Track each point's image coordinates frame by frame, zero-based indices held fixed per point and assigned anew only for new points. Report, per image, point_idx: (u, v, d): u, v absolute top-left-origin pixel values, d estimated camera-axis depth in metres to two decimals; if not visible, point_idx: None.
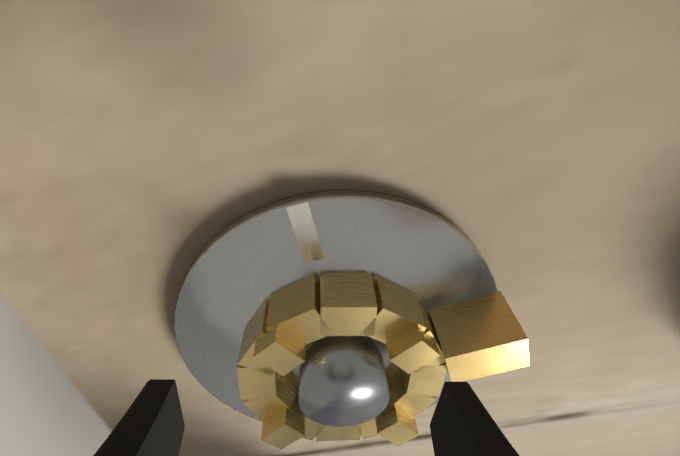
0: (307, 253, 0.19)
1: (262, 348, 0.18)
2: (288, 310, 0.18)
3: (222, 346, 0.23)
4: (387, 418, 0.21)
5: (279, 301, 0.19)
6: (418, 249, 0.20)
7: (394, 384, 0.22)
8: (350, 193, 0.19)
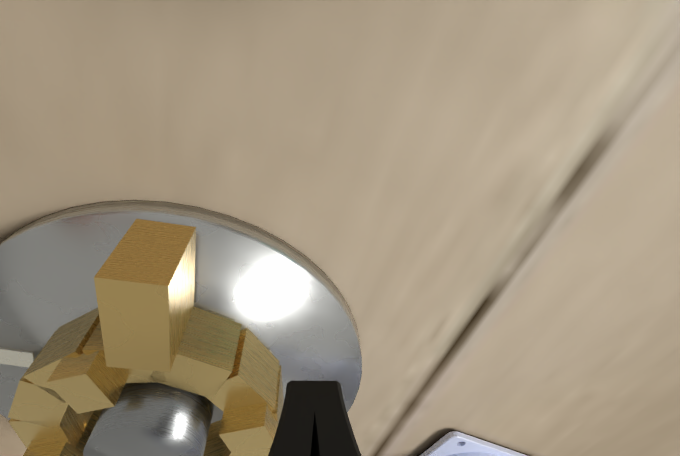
0: (24, 361, 0.18)
1: None
2: None
3: None
4: None
5: None
6: (42, 276, 0.16)
7: None
8: None
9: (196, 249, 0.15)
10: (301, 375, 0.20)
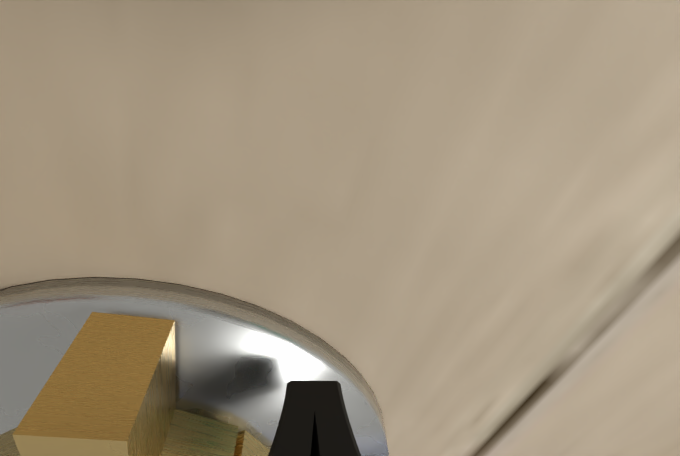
0: None
1: None
2: None
3: None
4: None
5: None
6: None
7: None
8: None
9: (177, 341, 0.11)
10: None
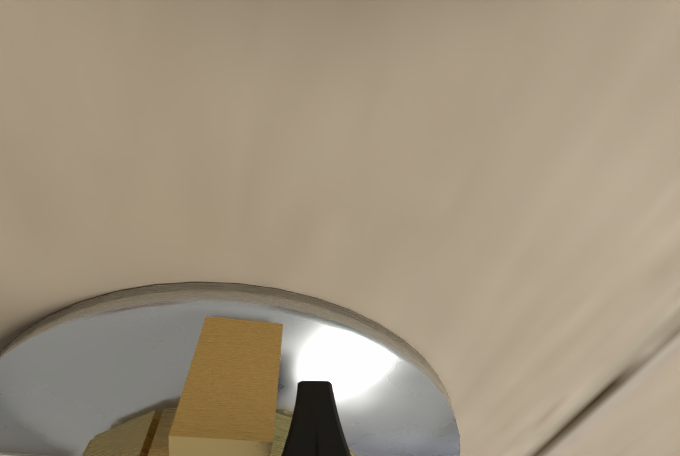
0: None
1: None
2: None
3: None
4: None
5: None
6: (75, 378, 0.12)
7: None
8: None
9: None
10: None
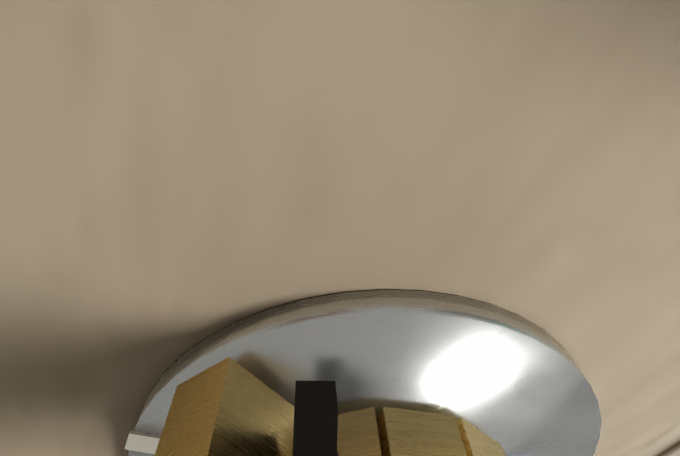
0: None
1: None
2: None
3: None
4: None
5: None
6: (288, 372, 0.12)
7: None
8: (161, 380, 0.13)
9: (486, 356, 0.12)
10: None
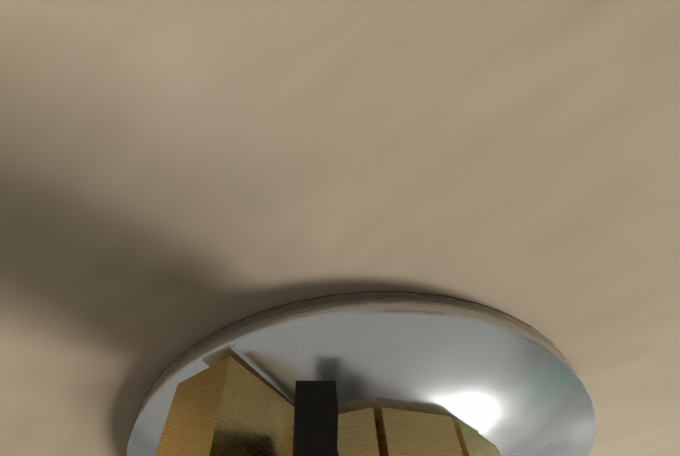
0: None
1: None
2: None
3: None
4: None
5: None
6: (427, 359, 0.12)
7: None
8: (294, 310, 0.12)
9: (557, 414, 0.15)
10: None
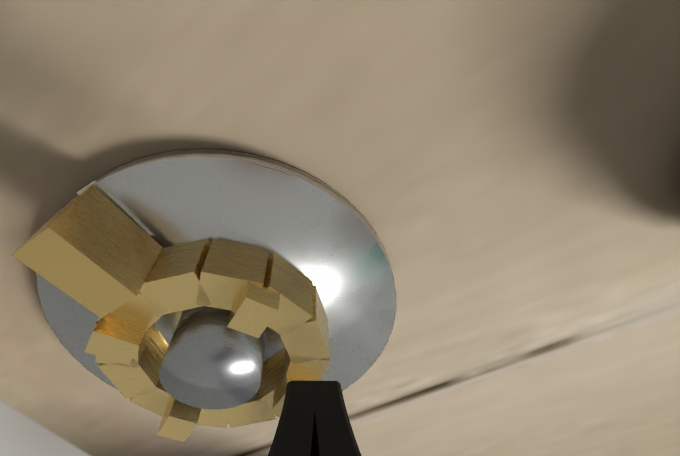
0: None
1: None
2: None
3: None
4: None
5: None
6: (241, 199, 0.18)
7: None
8: (142, 159, 0.17)
9: (357, 257, 0.20)
10: None
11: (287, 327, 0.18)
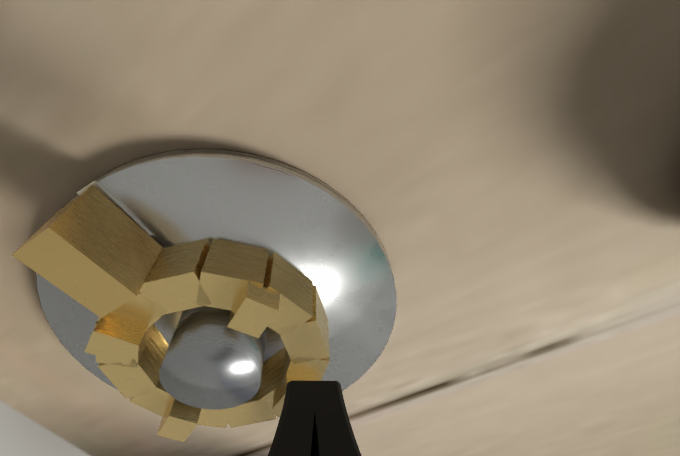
0: None
1: None
2: None
3: None
4: None
5: None
6: (241, 199, 0.18)
7: None
8: (142, 159, 0.17)
9: (357, 257, 0.20)
10: None
11: (287, 327, 0.18)
